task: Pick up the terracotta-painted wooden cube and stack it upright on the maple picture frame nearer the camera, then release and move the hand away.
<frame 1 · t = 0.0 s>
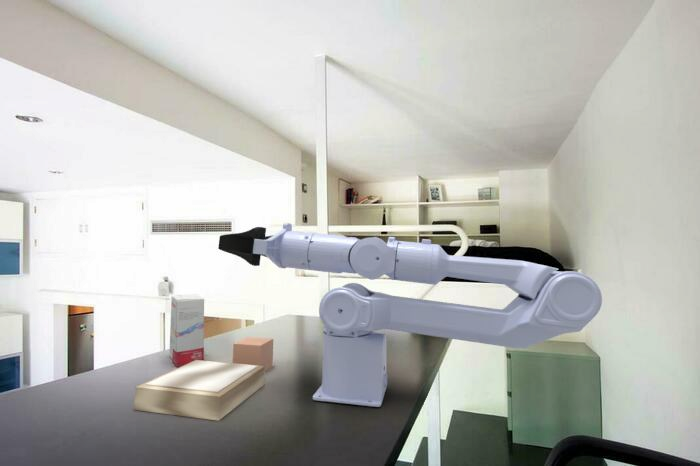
hand: (233, 243, 56), 22 cm above the table, tool horizontal, fingers open, 7 cm apart
terracotta cube: (253, 370, 60), on the table
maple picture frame: (205, 396, 48), on the table
ink box: (185, 360, 65), on the table
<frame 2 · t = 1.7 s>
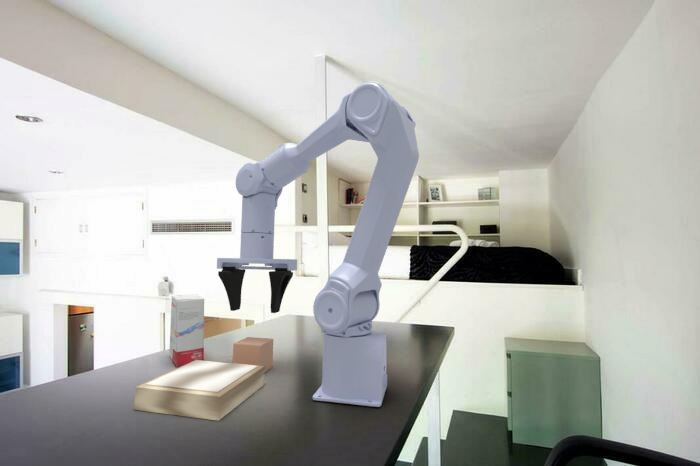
hand: (254, 311, 61), 10 cm above the table, tool pointing down, fingers open, 7 cm apart
nothing on the table moved.
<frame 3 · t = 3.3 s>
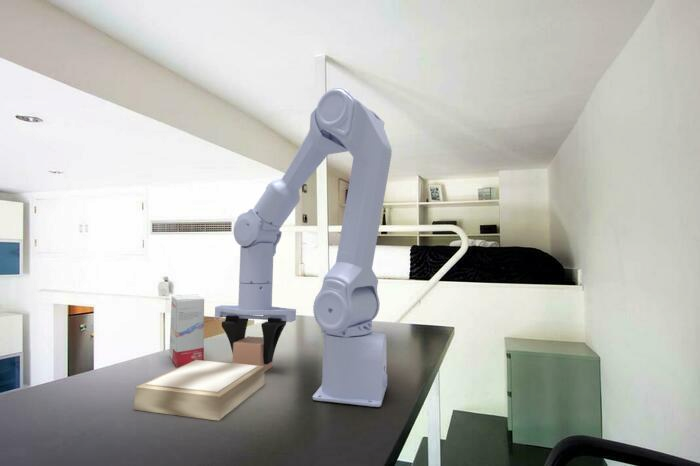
hand: (253, 361, 60), 1 cm above the table, tool pointing down, fingers closed on terracotta cube, 5 cm apart
terracotta cube: (253, 369, 60), on the table, touching gripper
everything else where it was.
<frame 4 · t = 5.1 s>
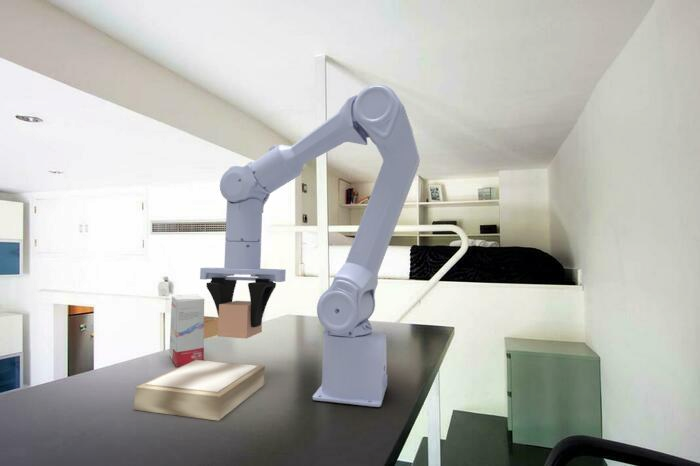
hand: (240, 325, 56), 8 cm above the table, tool pointing down, fingers closed on terracotta cube, 5 cm apart
terracotta cube: (240, 334, 56), point 7 cm above the table, touching gripper
everything else where it was.
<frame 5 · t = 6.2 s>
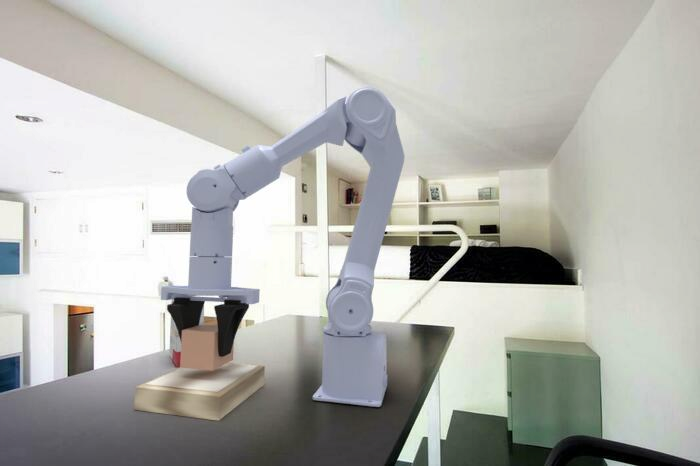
hand: (207, 353, 49), 6 cm above the table, tool pointing down, fingers closed on terracotta cube, 5 cm apart
terracotta cube: (207, 363, 49), point 4 cm above the table, touching gripper
everything else where it was.
when the fingers open (6 cm above the table, at t = 6.9 s): terracotta cube drops 1 cm, resting on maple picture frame.
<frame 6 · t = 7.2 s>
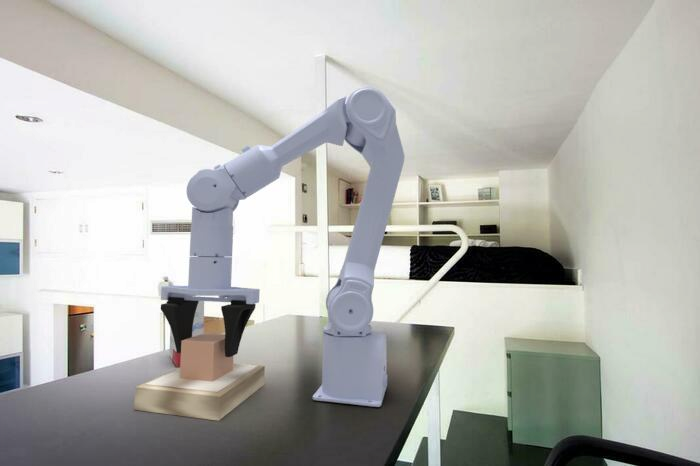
hand: (207, 353, 49), 6 cm above the table, tool pointing down, fingers open, 7 cm apart
terracotta cube: (207, 373, 49), point 3 cm above the table, touching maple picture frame
everything else where it was.
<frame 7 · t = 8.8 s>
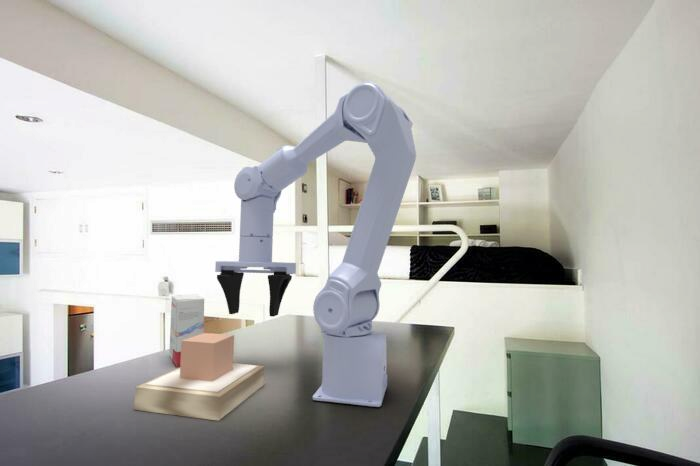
hand: (253, 314, 61), 9 cm above the table, tool pointing down, fingers open, 7 cm apart
nothing on the table moved.
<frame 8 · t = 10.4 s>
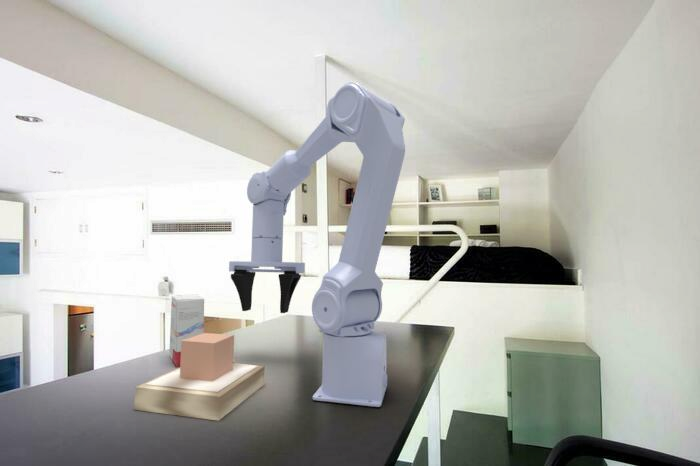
hand: (265, 311, 64), 9 cm above the table, tool pointing down, fingers open, 7 cm apart
nothing on the table moved.
at the end: terracotta cube inside the target area on the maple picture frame (0.2 cm from its centre), point 3.0 cm above the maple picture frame's base; terracotta cube tilted 0°; the gripper is holding nothing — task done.
